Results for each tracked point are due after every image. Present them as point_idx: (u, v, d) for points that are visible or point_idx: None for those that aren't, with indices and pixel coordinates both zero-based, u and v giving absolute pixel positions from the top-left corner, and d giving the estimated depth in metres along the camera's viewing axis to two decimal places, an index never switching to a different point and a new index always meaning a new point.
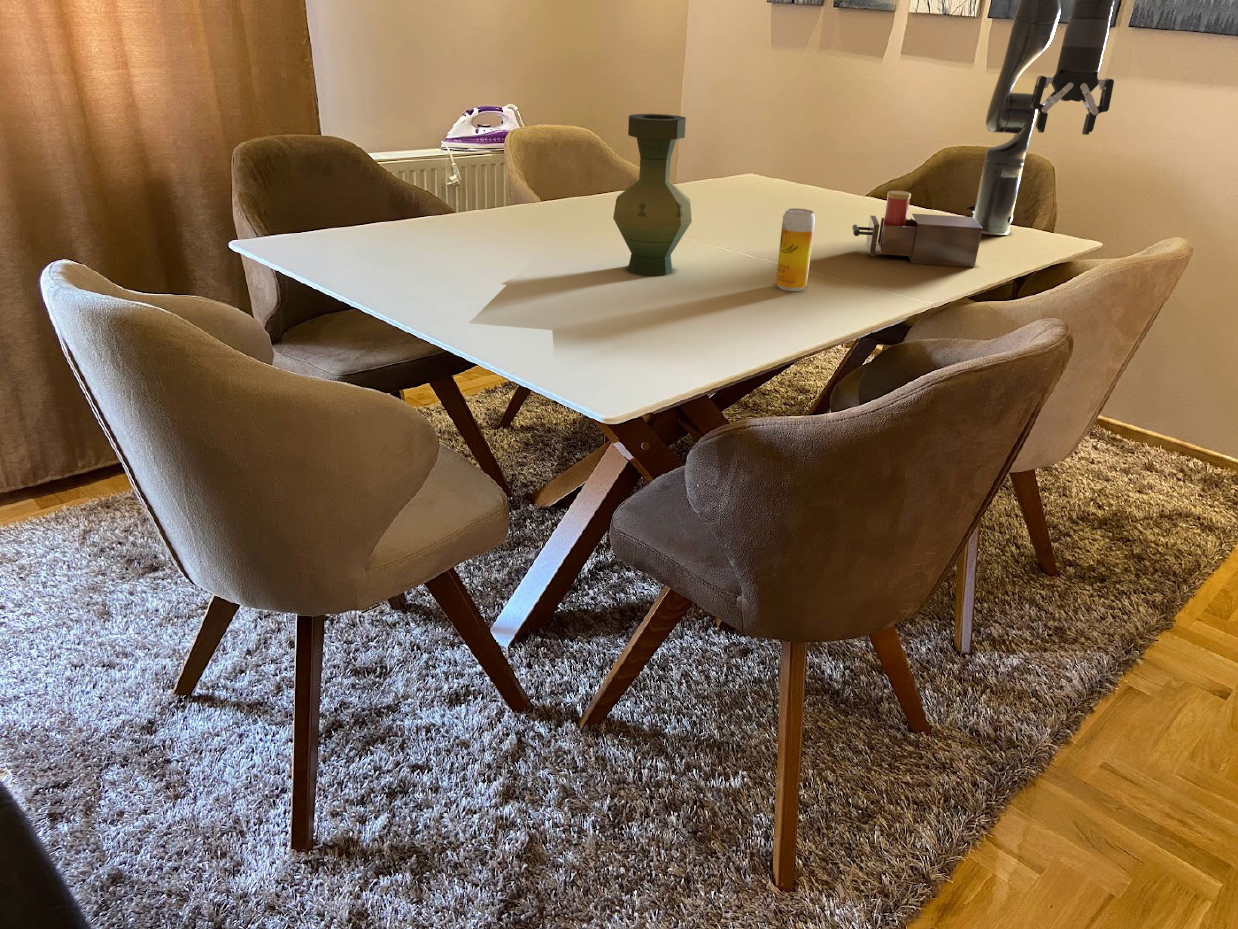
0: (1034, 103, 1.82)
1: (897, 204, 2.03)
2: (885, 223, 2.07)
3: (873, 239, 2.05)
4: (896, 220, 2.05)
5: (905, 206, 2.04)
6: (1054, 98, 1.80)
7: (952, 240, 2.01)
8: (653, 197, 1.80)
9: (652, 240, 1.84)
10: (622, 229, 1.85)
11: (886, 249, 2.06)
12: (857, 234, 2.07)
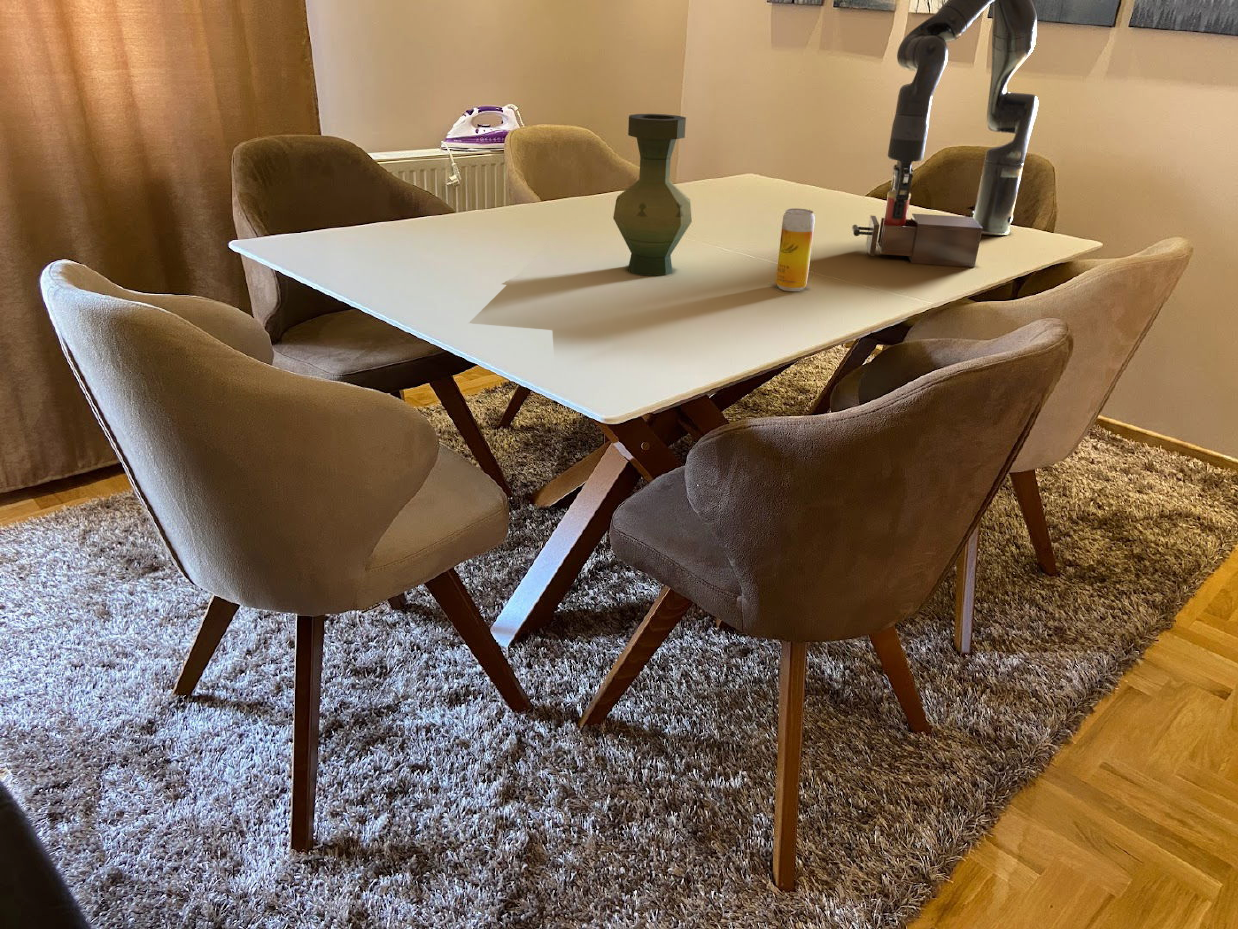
0: (891, 187, 2.09)
1: None
2: (885, 223, 2.07)
3: (873, 239, 2.05)
4: (896, 220, 2.05)
5: (905, 206, 2.04)
6: (891, 182, 2.06)
7: (952, 240, 2.01)
8: (653, 197, 1.80)
9: (652, 240, 1.84)
10: (622, 229, 1.85)
11: (886, 249, 2.06)
12: (857, 234, 2.07)
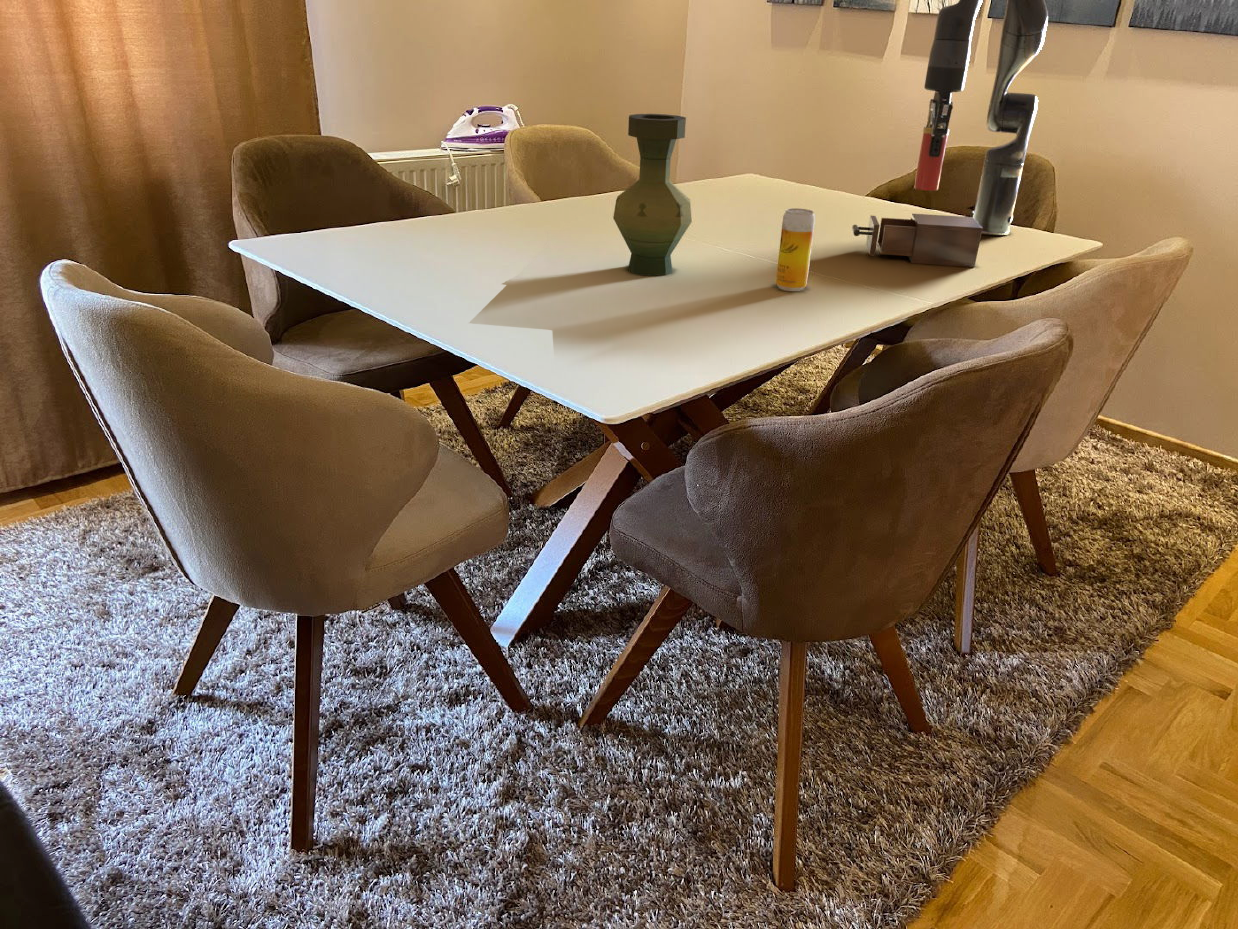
0: (927, 124, 1.93)
1: None
2: (920, 162, 1.90)
3: (873, 239, 2.05)
4: (933, 158, 1.88)
5: (943, 142, 1.87)
6: (927, 118, 1.90)
7: (952, 240, 2.01)
8: (653, 197, 1.80)
9: (652, 240, 1.84)
10: (622, 229, 1.85)
11: (886, 249, 2.06)
12: (857, 234, 2.07)
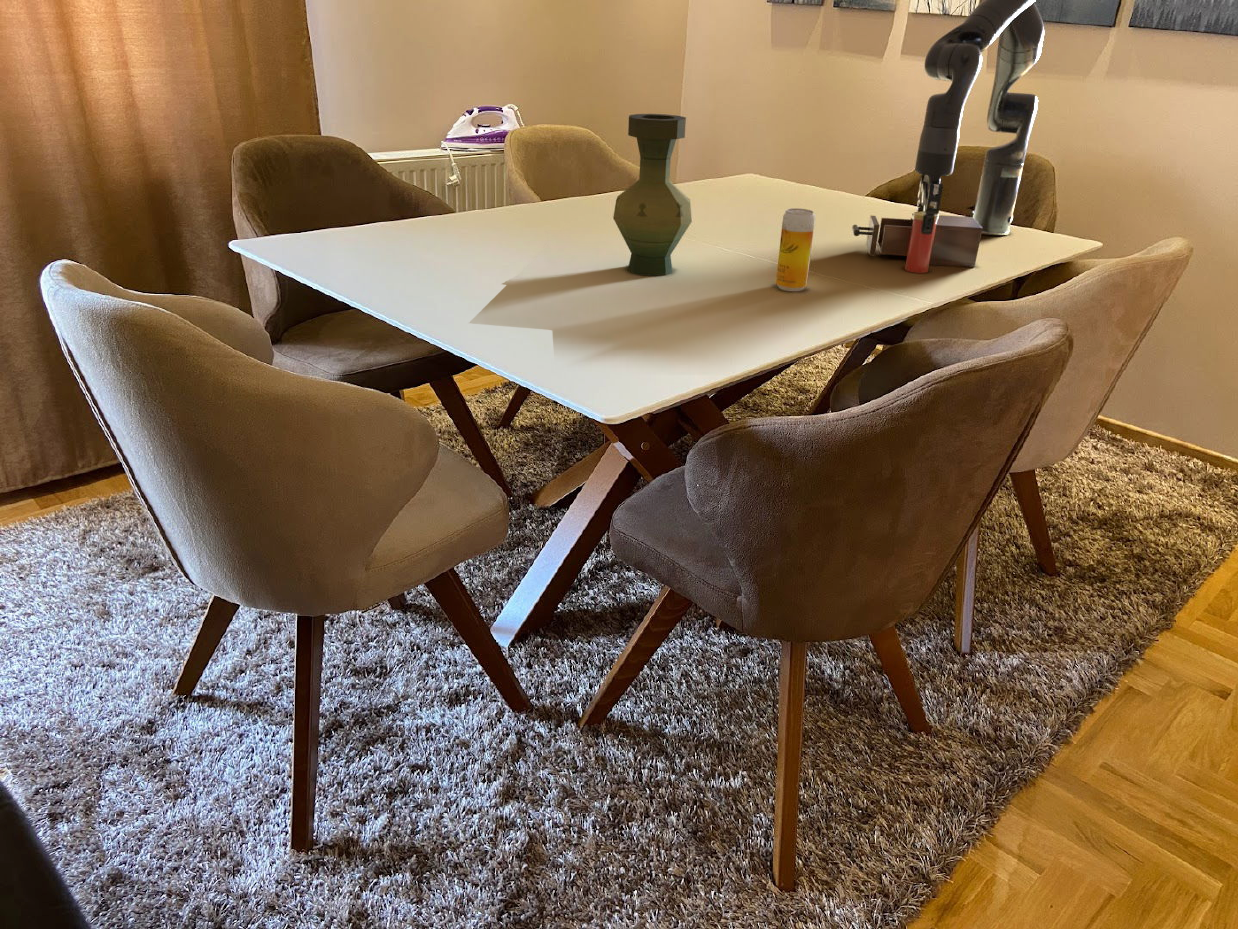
0: None
1: None
2: (911, 246, 1.96)
3: (873, 239, 2.05)
4: (923, 243, 1.94)
5: (933, 228, 1.93)
6: (918, 194, 1.96)
7: (952, 240, 2.01)
8: (653, 197, 1.80)
9: (652, 240, 1.84)
10: (622, 229, 1.85)
11: (886, 249, 2.06)
12: (857, 234, 2.07)
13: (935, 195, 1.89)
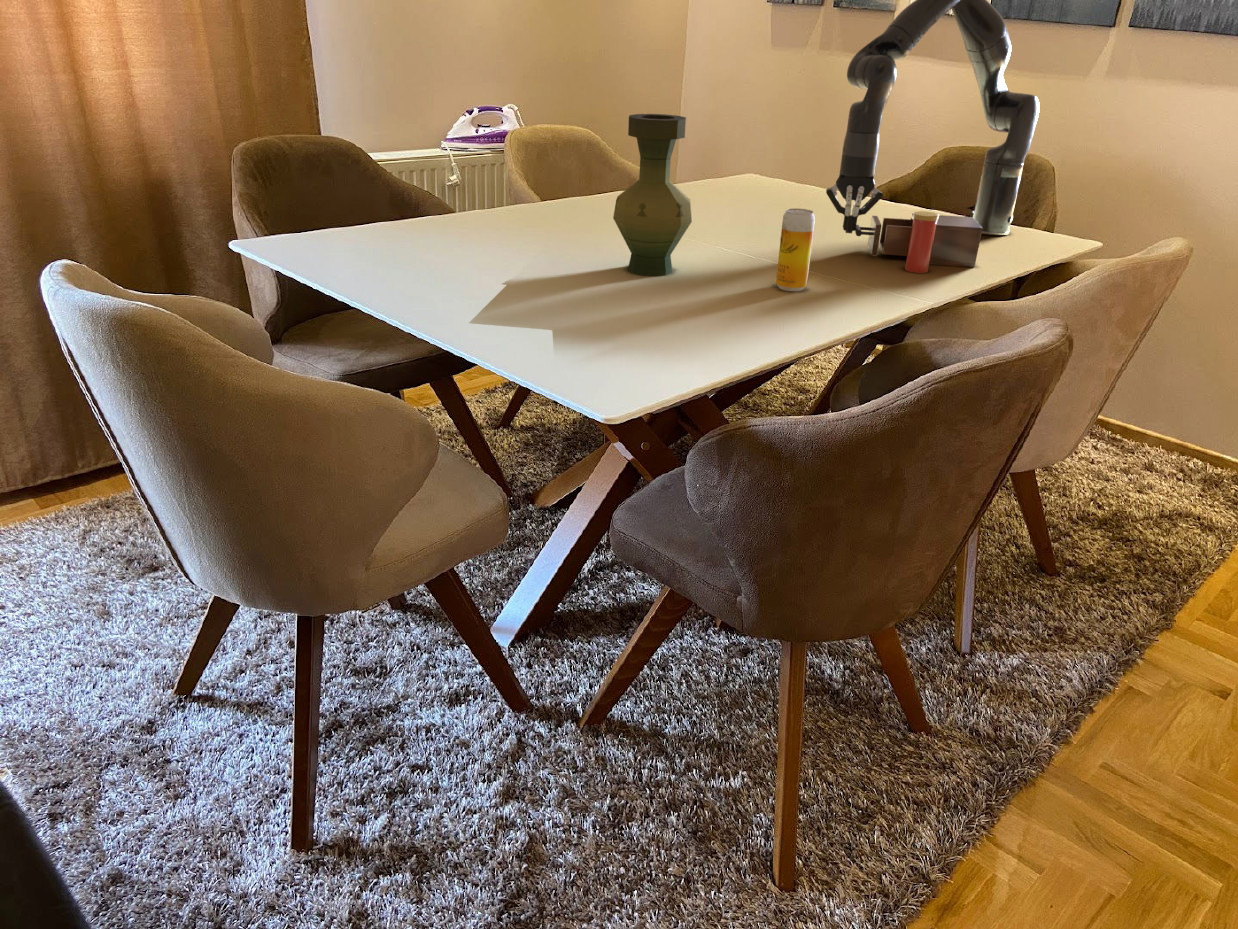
0: (837, 210, 2.07)
1: (924, 226, 1.93)
2: (911, 246, 1.96)
3: (875, 239, 2.04)
4: (923, 243, 1.94)
5: (933, 228, 1.93)
6: (847, 203, 2.06)
7: (952, 240, 2.01)
8: (653, 197, 1.80)
9: (652, 240, 1.84)
10: (622, 229, 1.85)
11: (888, 249, 2.06)
12: (859, 234, 2.07)
13: None
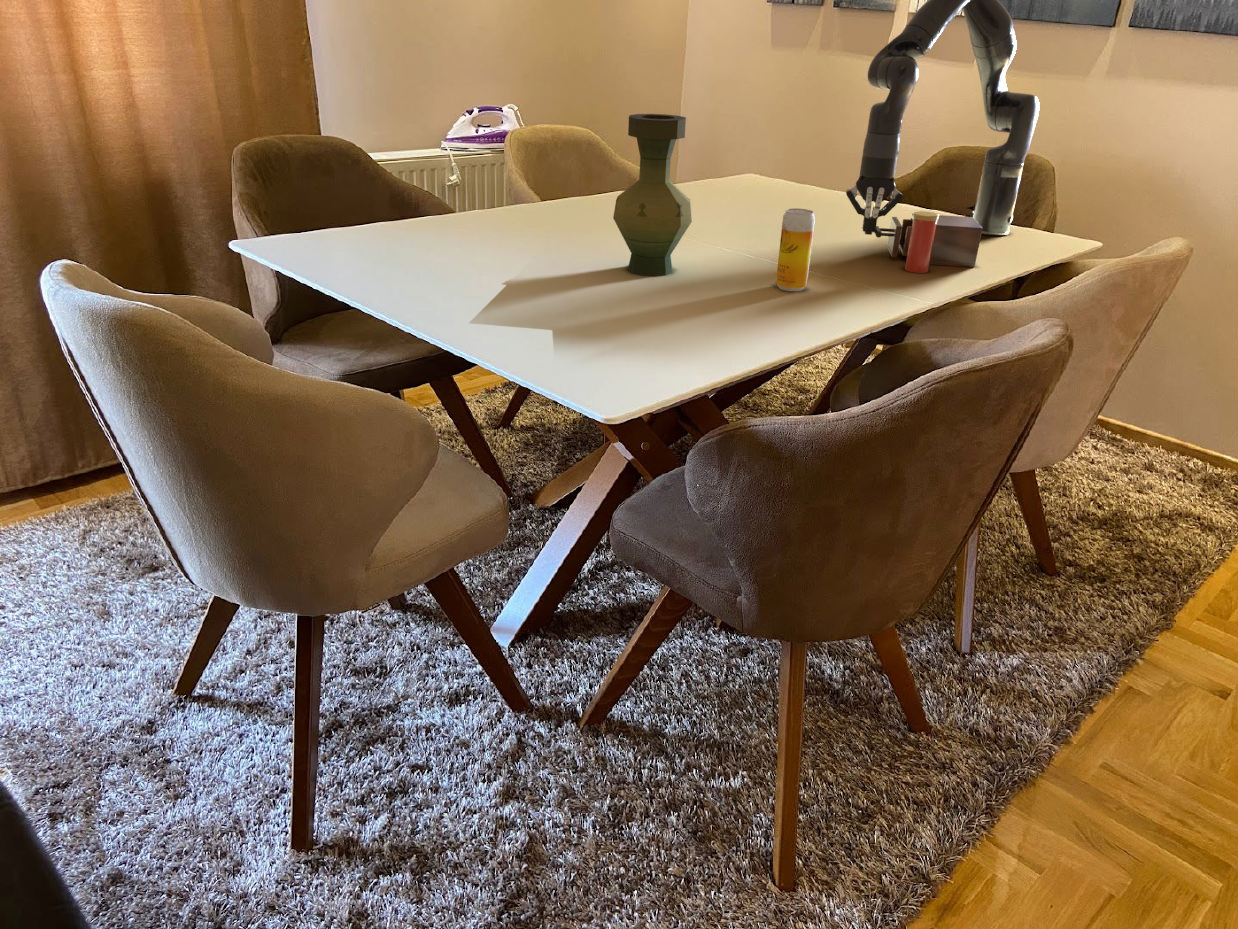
0: (857, 211, 2.06)
1: (924, 226, 1.93)
2: (911, 246, 1.96)
3: (895, 240, 2.04)
4: (923, 243, 1.94)
5: (933, 228, 1.93)
6: (867, 204, 2.05)
7: (952, 240, 2.01)
8: (653, 197, 1.80)
9: (652, 240, 1.84)
10: (622, 229, 1.85)
11: None
12: (879, 235, 2.06)
13: None
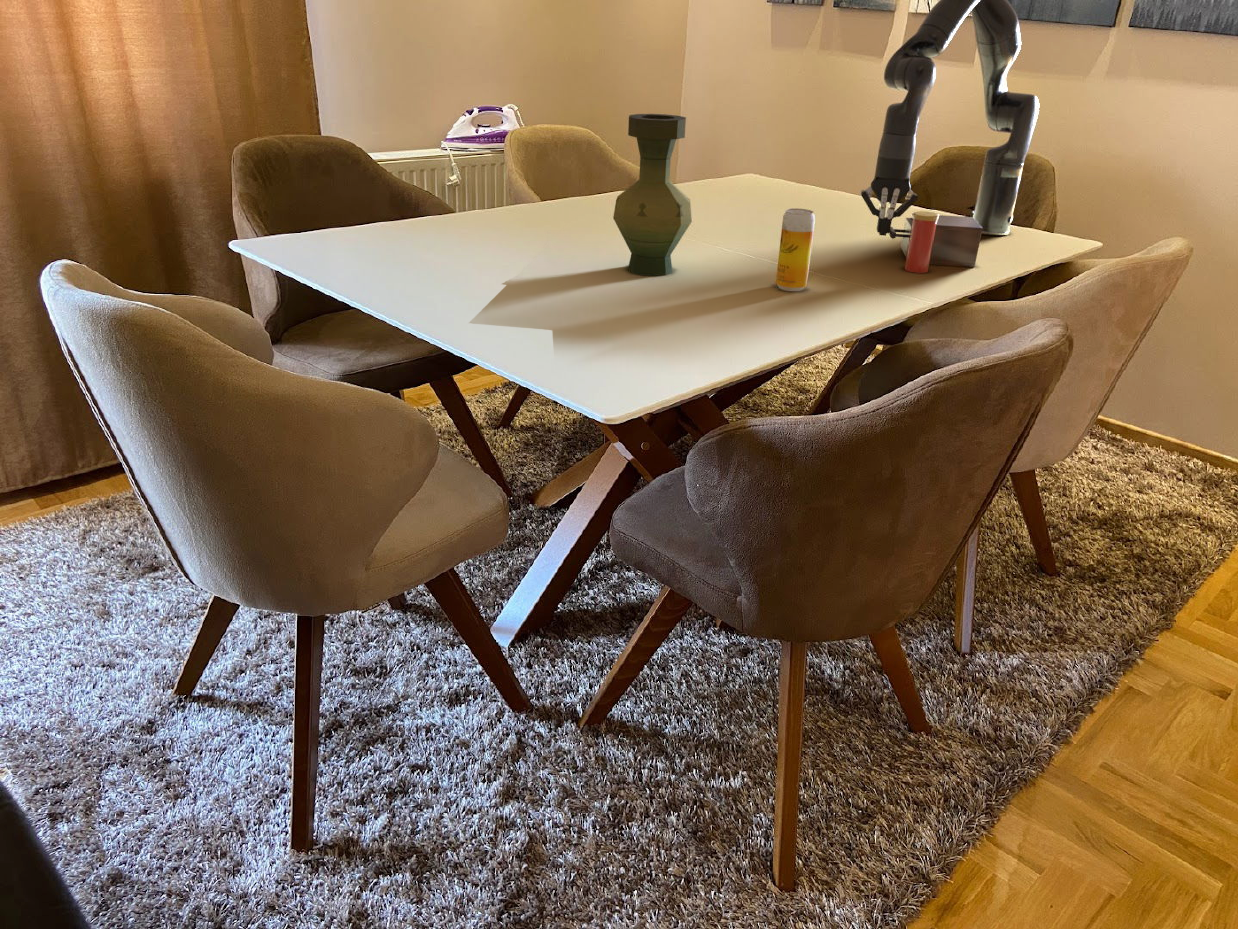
0: (872, 212, 2.06)
1: (924, 226, 1.93)
2: (911, 246, 1.96)
3: None
4: (923, 243, 1.94)
5: (933, 228, 1.93)
6: (882, 205, 2.05)
7: (952, 240, 2.01)
8: (653, 197, 1.80)
9: (652, 240, 1.84)
10: (622, 229, 1.85)
11: None
12: (894, 236, 2.06)
13: None
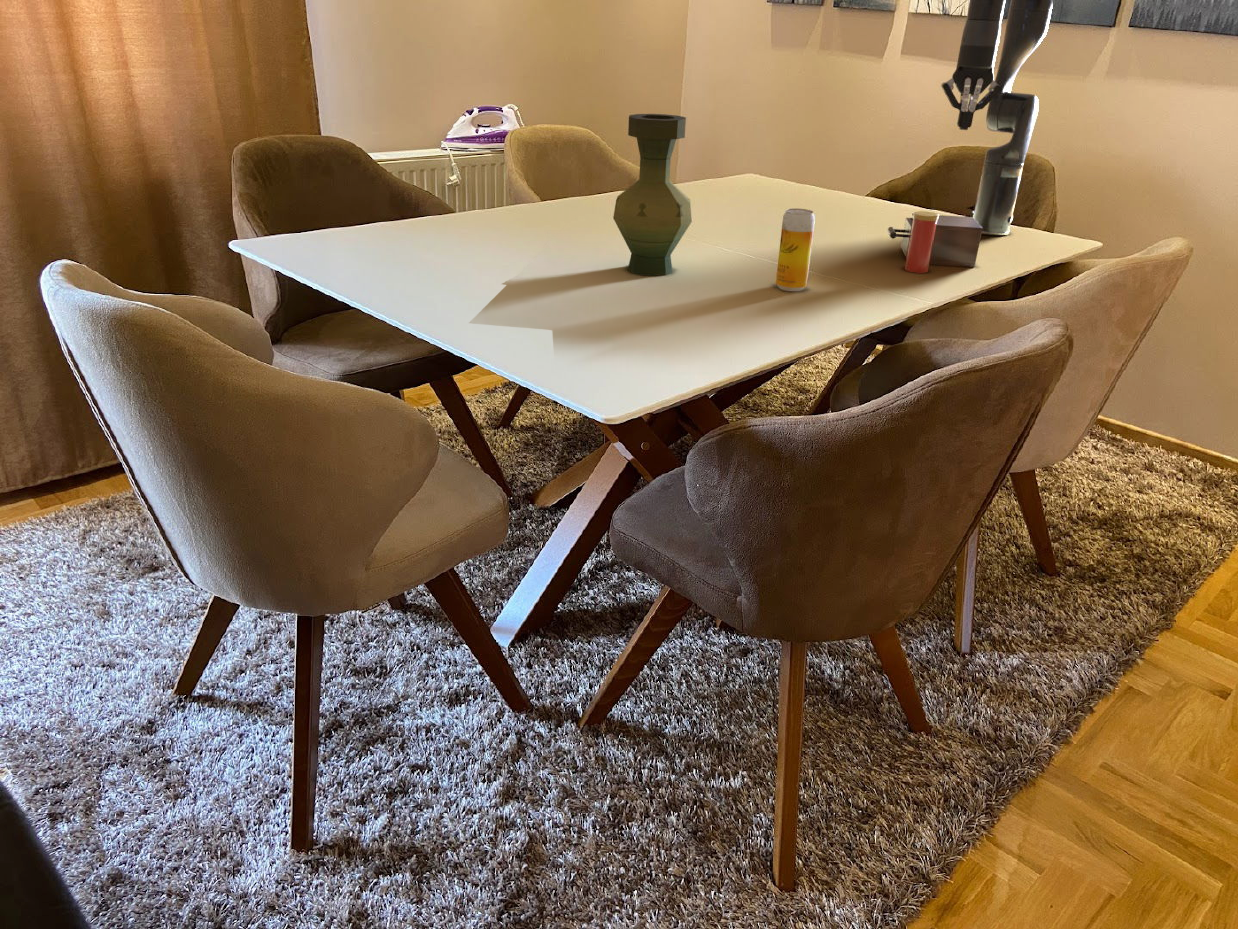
0: (953, 105, 2.01)
1: (924, 226, 1.93)
2: (911, 246, 1.96)
3: None
4: (923, 243, 1.94)
5: (933, 228, 1.93)
6: (964, 97, 2.00)
7: (952, 240, 2.01)
8: (653, 197, 1.80)
9: (652, 240, 1.84)
10: (622, 229, 1.85)
11: None
12: (894, 236, 2.06)
13: None
